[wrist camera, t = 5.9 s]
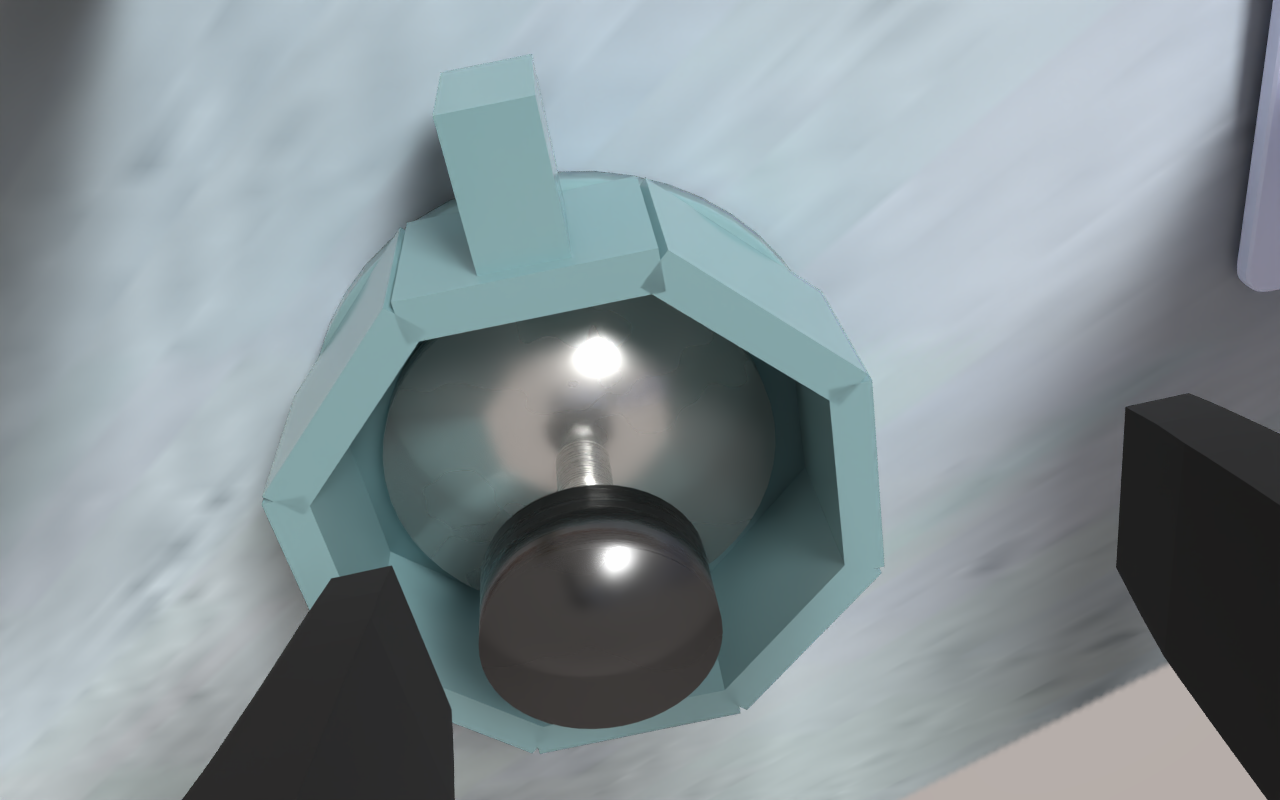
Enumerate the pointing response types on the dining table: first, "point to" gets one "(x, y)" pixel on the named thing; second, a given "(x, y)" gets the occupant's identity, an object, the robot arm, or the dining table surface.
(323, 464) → the teal tabbed tray
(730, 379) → the doorknob
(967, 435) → the dining table surface
